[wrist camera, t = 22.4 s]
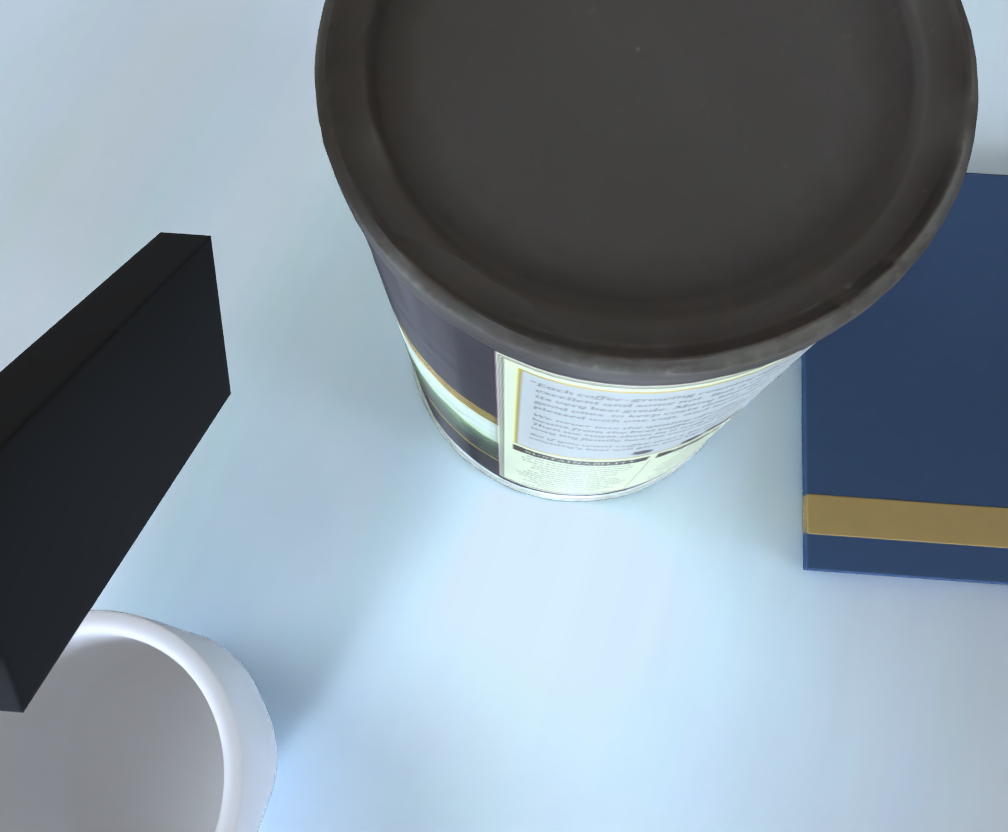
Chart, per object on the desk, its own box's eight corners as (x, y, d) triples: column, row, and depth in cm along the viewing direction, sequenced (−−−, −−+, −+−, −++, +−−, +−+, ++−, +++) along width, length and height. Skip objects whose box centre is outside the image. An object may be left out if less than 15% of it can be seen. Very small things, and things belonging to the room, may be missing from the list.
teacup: (94, 578, 26) (-13, 566, 20) (341, 660, 25) (298, 669, 20) (-58, 943, 23) (-222, 1035, 18) (211, 1041, 23) (123, 1166, 17)
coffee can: (348, 410, 27) (183, 180, 13) (505, 140, 29) (505, -300, 15) (654, 568, 26) (826, 500, 12) (794, 276, 28) (1076, -68, 14)
